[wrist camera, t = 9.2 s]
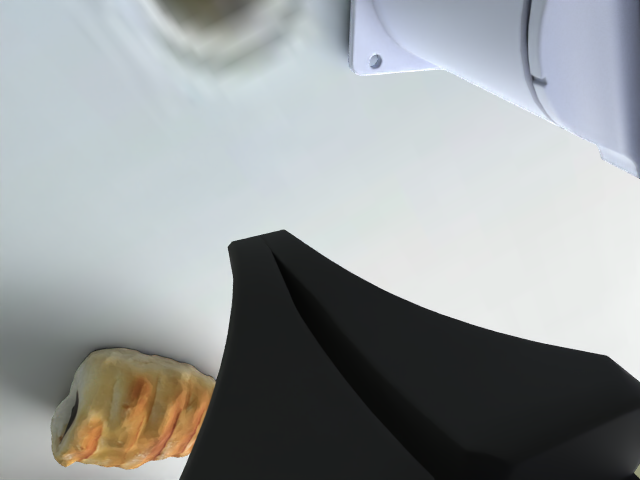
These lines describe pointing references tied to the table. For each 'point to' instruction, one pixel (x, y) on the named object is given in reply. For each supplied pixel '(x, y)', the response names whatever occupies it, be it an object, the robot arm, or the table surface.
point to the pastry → (130, 410)
